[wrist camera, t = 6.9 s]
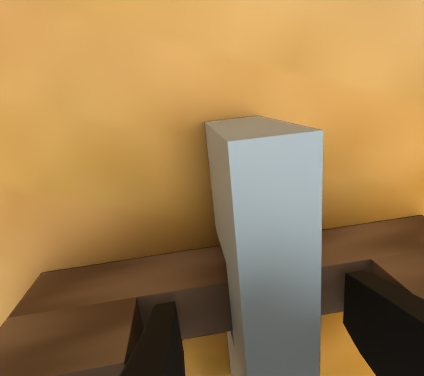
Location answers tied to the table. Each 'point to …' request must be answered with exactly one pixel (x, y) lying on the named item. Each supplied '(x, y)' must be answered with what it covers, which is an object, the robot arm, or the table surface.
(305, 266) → the pale blue-gray block
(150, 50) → the table surface
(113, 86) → the table surface
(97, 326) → the walnut u-shaped block
